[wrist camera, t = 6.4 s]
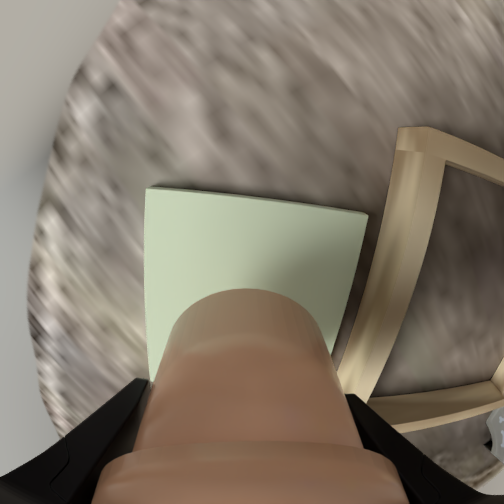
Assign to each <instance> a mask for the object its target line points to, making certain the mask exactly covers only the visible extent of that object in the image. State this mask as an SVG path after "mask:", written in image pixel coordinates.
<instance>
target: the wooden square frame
mask: <svg viewBox="0 0 504 504" xmlns="http://www.w3.org/2000/svg"><path fill="white" fill-rule="evenodd" d="M445 165H447V166H450V167H453V168H456V169H459V170H462V171H464V172H467V173H470V174H472V175H475V176H478V177H480V178H483V179H485V180H488V181H490V182H493V183H495V184H498V185H500V186H502V187H504V159H503V158H501V157H499V156H497V155H495V154H493V153H491V152H488V151H486V150H484V149H482V148H480V147H478V146H475V145H473V144H471V143H469V142H466V141H464V140H462V139H459V138H457V137H454V136H452V135H449V134H447V133H444V132H442V131H439V130H437V129H434V128H431V127H400V128H398V134H397V141H396V148H395V155H394V161H393V167H392V173H391V179H390V184H389V189H388V195H387V200H386V205H385V209H384V214H383V219H382V223H381V228H380V232H379V236H378V241H377V245H376V249H375V253H374V257H373V261H372V264H371V268H370V272H369V275H368V279H367V283H366V286H365V290H364V293H363V296H362V300H361V303H360V306H359V310H358V313H357V316H356V319H355V322H354V325H353V328H352V331H351V334H350V337H349V340H348V343H347V346H346V349H345V352H344V355H343V357H342V360H341V363H340V366H339V368H338V371H337V375H338V377H339V380H340V383H341V386H342V388H343V391H344V394H350V393H353V394H356V395H357V396H358V397H359V398H360V399H361V400H363V401H364V402H365V403H366V404H367V405H368V406H369V407H370V408H372V409H373V410H374V411H375V412H376V413H377V414H378V415H379V416H381V417H382V418H383V419H384V420H385V421H386V422H387V423H389V424H390V425H391V426H392V427H393V428H394V429H395V430H397V431H398V432H399V433H404V432H409V431H415V430H420V429H425V428H429V427H434V426H438V425H443V424H447V423H451V422H455V421H458V420H462V419H466V418H469V417H473V416H476V415H479V414H482V413H486V412H489V411H492V410H495V409H498V408H500V407H503V406H504V357H503V359H502V361H501V363H500V365H499V366H498V368H497V370H496V372H495V373H494V375H493V377H492V378H491V380H489V381H485V382H480V383H475V384H470V385H465V386H460V387H455V388H449V389H443V390H436V391H430V392H422V393H415V394H406V395H397V396H386V397H374V398H369V397H370V395H371V393H372V391H373V389H374V387H375V385H376V383H377V381H378V378H379V376H380V374H381V372H382V370H383V368H384V365H385V363H386V361H387V359H388V356H389V354H390V352H391V349H392V347H393V345H394V342H395V340H396V337H397V335H398V332H399V330H400V327H401V325H402V322H403V319H404V317H405V314H406V311H407V309H408V306H409V303H410V300H411V297H412V294H413V291H414V288H415V285H416V282H417V279H418V276H419V273H420V270H421V266H422V263H423V259H424V256H425V253H426V249H427V245H428V242H429V238H430V234H431V230H432V226H433V222H434V218H435V213H436V209H437V204H438V199H439V195H440V189H441V184H442V179H443V173H444V167H445Z"/></svg>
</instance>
